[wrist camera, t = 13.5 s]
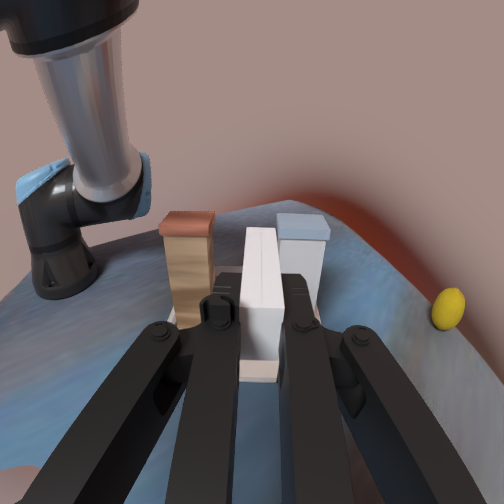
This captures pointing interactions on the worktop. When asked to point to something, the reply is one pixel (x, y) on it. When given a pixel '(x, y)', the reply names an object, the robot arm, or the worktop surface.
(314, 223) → the grey tall block
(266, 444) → the worktop surface
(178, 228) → the beige wooden tall block
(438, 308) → the lemon
